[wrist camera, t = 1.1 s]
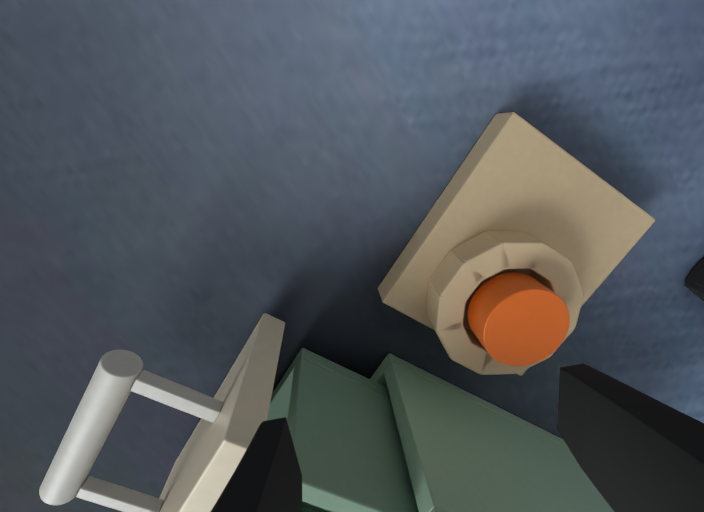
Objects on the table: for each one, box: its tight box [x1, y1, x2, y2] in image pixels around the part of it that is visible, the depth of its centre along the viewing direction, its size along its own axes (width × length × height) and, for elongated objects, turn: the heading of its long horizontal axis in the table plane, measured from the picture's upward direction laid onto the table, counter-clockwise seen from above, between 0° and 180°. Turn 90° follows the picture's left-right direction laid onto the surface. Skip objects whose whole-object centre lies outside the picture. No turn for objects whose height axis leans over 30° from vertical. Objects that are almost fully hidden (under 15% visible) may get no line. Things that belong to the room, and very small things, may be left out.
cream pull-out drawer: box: [39, 313, 419, 512], centre depth 17 cm, size 18×11×8 cm, turn 58°
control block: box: [378, 112, 656, 376], centre depth 17 cm, size 10×9×4 cm
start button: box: [468, 273, 570, 366], centre depth 16 cm, size 4×4×2 cm
